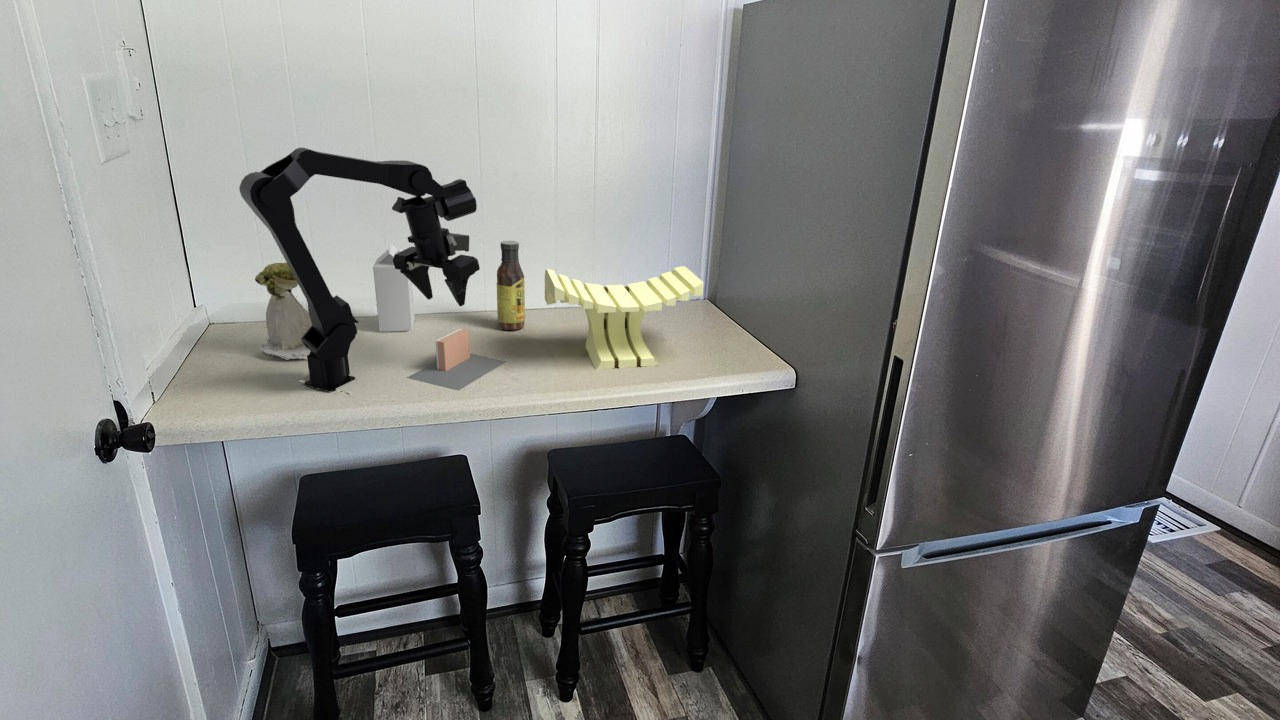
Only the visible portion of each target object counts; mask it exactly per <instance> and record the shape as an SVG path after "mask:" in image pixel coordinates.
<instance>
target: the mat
mask: <svg viewBox="0 0 1280 720" xmlns="http://www.w3.org/2000/svg"><path fill="white" fill-rule="evenodd" d="M505 363H507V361H506V360H502V359H498V358H493V357H489V356H483V355H479V354H475V353H471V352H470V358H469V359H467V360H465V361H463V362H462V363H460V364H458V365H456V366H454V367H452V368H451V369H449V370H447V371H443V370H439V369H437V361H436V362H433V363H432V364H430V365H428V366H426V367H424V368H422V369H419V370H418V371H416V372H415V373H412V374H410V375H409V376H407V377H406V378H407V379H411V380H414V381H419V382H423V383H427V384H430V385H435V386H439V387H443V388H447V389H451V390H457V391H460V390H462V389H464V388H465V387H467V386H468V385H470V384H472V383H474V382H476V381H477V380H479V379H481V378H482V377H483V376H485V375H487V374H489V373H491V372H492V371H493V370H495V369H497V368H499V367H500V366H502V365H504V364H505Z"/></svg>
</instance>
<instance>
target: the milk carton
mask: <svg viewBox="0 0 1280 720" xmlns="http://www.w3.org/2000/svg"><path fill="white" fill-rule="evenodd" d="M393 242H394V241H393V240H392V241H390V243H389V245H388V248H387V250H386V251H384V252H383V253H382V254H381V255H380V256H379V257H378V258H377V259H376V260H375V262H374V264H373V266H372V271H373V280H374V290H375V300H376V310H377V311H376V312H377V319H378V331H379V332H380V333H386V332H387V333H388V332H389V333H391V332H394V333H395V332H409V331H413V330H414V326H415V322H416V319H415V317H416V315H415V304H414V303H415V302H414V291H413V290H414V289H413V283H412V282H411V281H410V280H409V279H408V278H407V277H406V276H405V275H404V274H402V273H401V272H400V270H398V269H395V267H394V263H393V258H394V255H395V254H397V253H399V252H401V251H403V250H404V249H400V248H397V247H395V246H394V243H393Z"/></svg>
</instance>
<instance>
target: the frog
mask: <svg viewBox="0 0 1280 720" xmlns="http://www.w3.org/2000/svg"><path fill="white" fill-rule="evenodd" d="M254 281H255V283H257V284H258V285H260V286H263V287H266V291H267V292H268V294H269V295H271V296H270V297H269V300H268V303H267V307H266V312H265V325H266V330H267V337H268V339H267V342H268V343H267V342H266V343H264V344H261V345H260V349H261V350H262V351H263V352H264V353H265V354H267V355H268V356H272V357H274V356H276V357H279V358H282V359H285V360H290V359H292V360H295V359H299V360H302V359H303V360H307V355H309V354H310V352H311V351H310V350H309V349H308V348H306V347H305V345H304V343H303V342H302V340H301V338H302V337H303V336H304V334H305V333H306V332H307V331H308V329H309V328H310V327H311V326H312V322H311V319H310V316H309V311H308V309H305V307H304V306H303V305H302V304H301V302H300V301H299V300H298V299H297V297H298V295H296V296H295V295H294V294H293V293H292V290H293V289H295V288H296V287H297V288H298V286H299V284H298V283H297V281H296V279H295V277H294V275H293V273H292V271H291V270H290V268H289V266H288V264H287V262H275V263H269V264H268V265H266V266H265V267H264V268H263V270H262V271H259V273H258V274H257V275H255V277H254Z"/></svg>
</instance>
